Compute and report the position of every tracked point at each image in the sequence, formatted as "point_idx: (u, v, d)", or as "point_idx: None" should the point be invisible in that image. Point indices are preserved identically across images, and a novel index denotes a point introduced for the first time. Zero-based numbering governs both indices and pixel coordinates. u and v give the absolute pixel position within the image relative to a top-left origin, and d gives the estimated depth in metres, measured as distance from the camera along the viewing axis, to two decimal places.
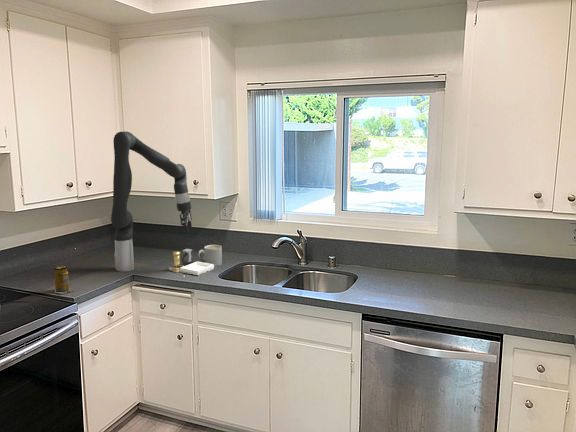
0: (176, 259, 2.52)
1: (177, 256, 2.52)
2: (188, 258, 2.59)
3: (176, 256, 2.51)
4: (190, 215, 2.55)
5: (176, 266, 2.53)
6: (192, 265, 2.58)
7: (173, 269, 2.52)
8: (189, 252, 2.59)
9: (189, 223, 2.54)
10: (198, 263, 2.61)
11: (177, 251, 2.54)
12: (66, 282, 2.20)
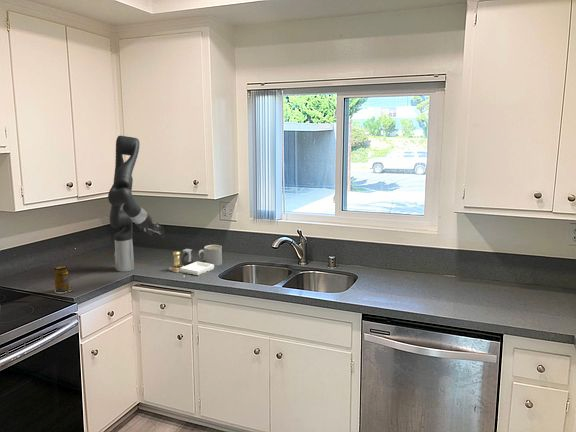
0: (176, 259, 2.52)
1: (177, 256, 2.52)
2: (188, 258, 2.59)
3: (176, 256, 2.51)
4: (158, 230, 2.30)
5: (176, 266, 2.53)
6: (192, 265, 2.58)
7: (173, 269, 2.52)
8: (189, 252, 2.59)
9: None
10: (198, 263, 2.61)
11: (177, 251, 2.54)
12: (66, 282, 2.20)
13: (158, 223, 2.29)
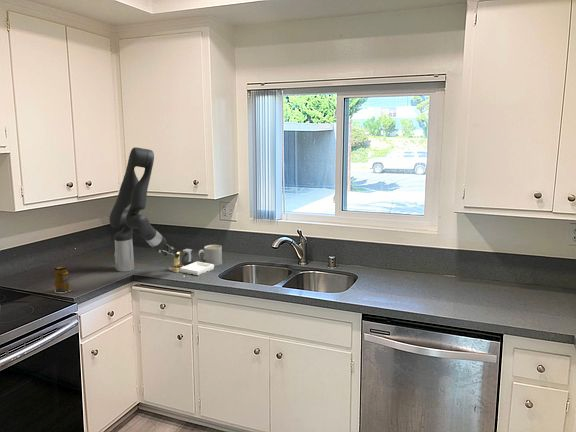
0: (176, 259, 2.52)
1: None
2: (188, 258, 2.59)
3: None
4: (172, 252, 2.41)
5: (176, 266, 2.53)
6: (192, 265, 2.58)
7: (173, 269, 2.52)
8: (189, 252, 2.59)
9: None
10: (198, 263, 2.61)
11: None
12: (66, 282, 2.20)
13: (172, 245, 2.39)
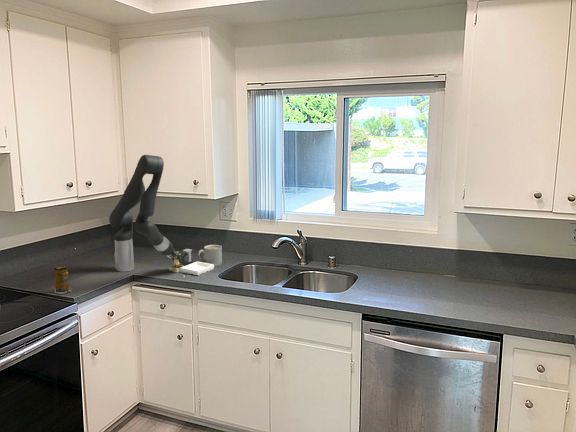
0: (176, 259, 2.52)
1: None
2: (188, 258, 2.59)
3: None
4: (178, 257, 2.48)
5: (176, 266, 2.53)
6: (192, 265, 2.58)
7: (173, 269, 2.52)
8: (189, 252, 2.59)
9: None
10: (198, 263, 2.61)
11: (177, 251, 2.54)
12: (66, 282, 2.20)
13: None
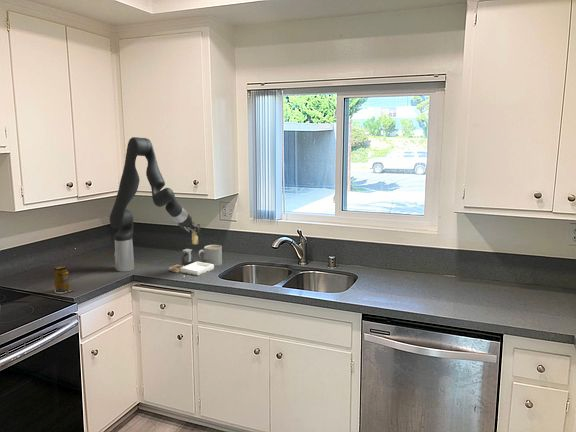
0: (194, 232, 2.47)
1: (195, 229, 2.47)
2: (188, 258, 2.59)
3: None
4: (196, 230, 2.43)
5: (194, 239, 2.48)
6: (192, 265, 2.58)
7: (173, 269, 2.52)
8: (189, 252, 2.59)
9: None
10: (198, 263, 2.61)
11: None
12: (66, 282, 2.20)
13: None
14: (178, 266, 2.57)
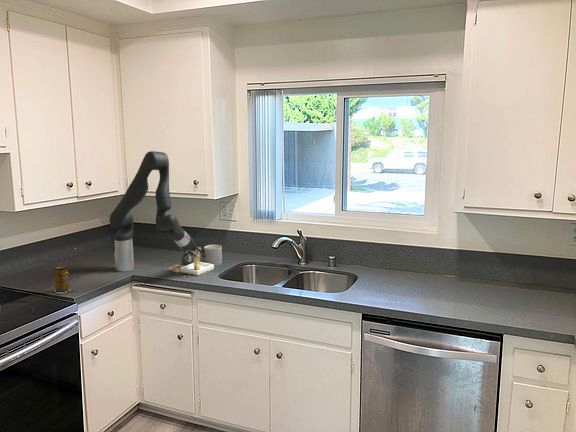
0: (196, 258, 2.51)
1: (197, 255, 2.51)
2: (188, 258, 2.59)
3: (196, 255, 2.50)
4: None
5: (196, 265, 2.52)
6: (192, 265, 2.58)
7: (173, 269, 2.52)
8: None
9: None
10: None
11: None
12: (66, 282, 2.20)
13: (200, 246, 2.44)
14: (178, 266, 2.57)
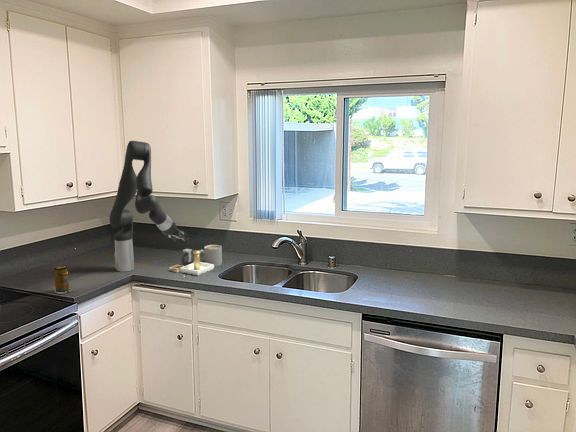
0: (196, 258, 2.51)
1: (197, 255, 2.51)
2: (188, 258, 2.59)
3: (196, 255, 2.51)
4: None
5: (196, 265, 2.52)
6: (192, 265, 2.58)
7: (173, 269, 2.52)
8: (189, 252, 2.59)
9: None
10: None
11: (197, 250, 2.53)
12: (66, 282, 2.20)
13: (183, 230, 2.31)
14: (178, 266, 2.57)
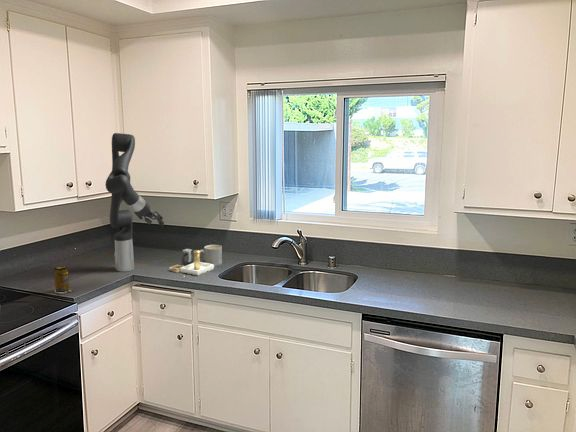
0: (197, 257, 2.51)
1: (198, 254, 2.51)
2: (188, 258, 2.59)
3: (197, 254, 2.51)
4: (156, 218, 2.29)
5: (196, 265, 2.52)
6: (192, 265, 2.58)
7: (173, 269, 2.52)
8: (189, 252, 2.59)
9: None
10: None
11: (197, 250, 2.54)
12: (66, 282, 2.20)
13: None
14: (178, 266, 2.57)
